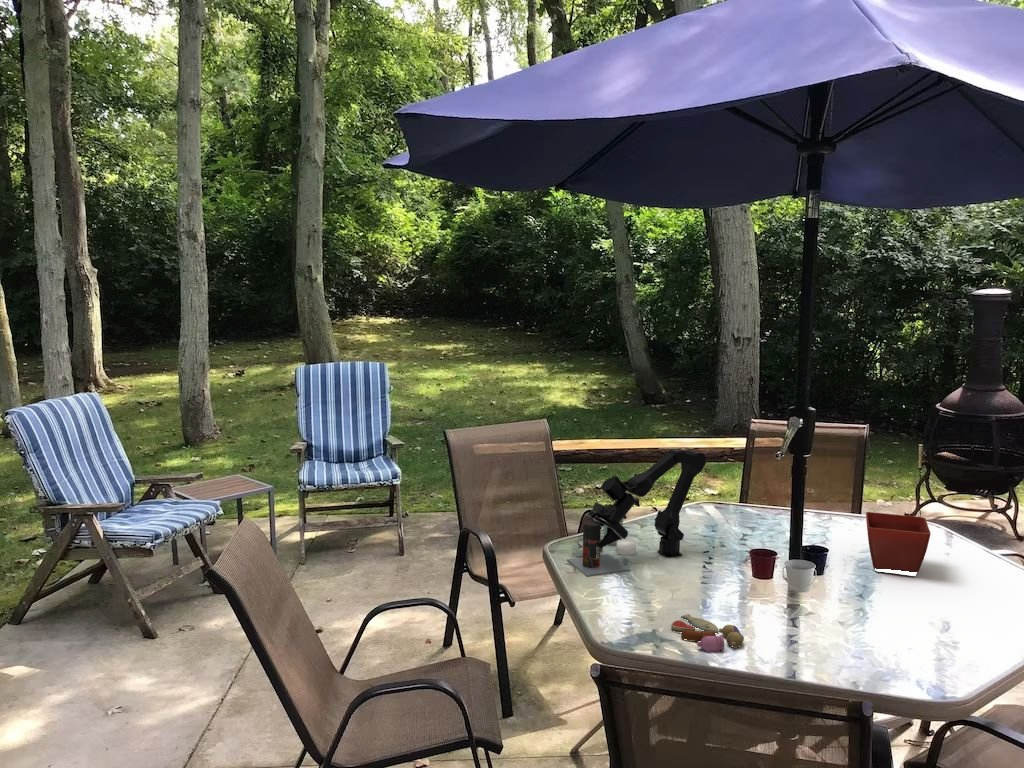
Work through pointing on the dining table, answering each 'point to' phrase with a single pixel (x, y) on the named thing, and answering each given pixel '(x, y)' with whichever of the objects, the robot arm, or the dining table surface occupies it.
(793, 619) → the dining table surface
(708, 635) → the toy food set
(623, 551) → the off-white smooth dome
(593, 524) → the deodorant
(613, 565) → the slate board
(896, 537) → the plant pot
